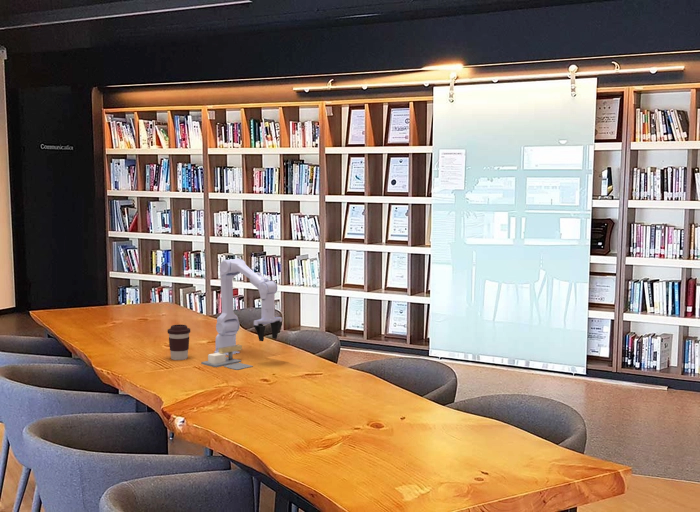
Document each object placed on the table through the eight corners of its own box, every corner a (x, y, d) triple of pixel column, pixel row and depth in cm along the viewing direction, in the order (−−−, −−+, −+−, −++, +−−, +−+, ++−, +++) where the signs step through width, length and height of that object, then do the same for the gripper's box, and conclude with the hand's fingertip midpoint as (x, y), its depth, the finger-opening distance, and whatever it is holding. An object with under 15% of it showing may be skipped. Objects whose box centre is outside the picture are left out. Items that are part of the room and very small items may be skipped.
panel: (201, 364, 332) (201, 353, 331) (226, 359, 342) (226, 349, 342) (215, 368, 325) (215, 357, 325) (241, 362, 336) (241, 352, 335)
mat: (223, 366, 327) (223, 366, 327) (239, 363, 334) (239, 362, 334) (236, 370, 321) (236, 369, 321) (253, 366, 328) (253, 365, 328)
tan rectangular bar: (218, 352, 334) (218, 348, 334) (238, 348, 342) (238, 344, 342) (222, 353, 332) (222, 348, 332) (241, 349, 340) (241, 345, 340)
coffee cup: (193, 356, 347) (193, 324, 346) (186, 361, 337) (186, 327, 336) (172, 356, 348) (171, 323, 347) (164, 361, 338) (164, 327, 337)
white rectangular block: (208, 362, 331) (208, 354, 331) (219, 360, 335) (219, 352, 335) (214, 364, 328) (214, 356, 328) (225, 361, 332) (225, 353, 332)
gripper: (261, 311, 326) (261, 343, 327) (286, 308, 336) (286, 338, 337) (250, 309, 330) (250, 341, 331) (275, 306, 341) (275, 336, 342)
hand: (268, 339), depth 335 cm, fingers open, 7 cm apart
